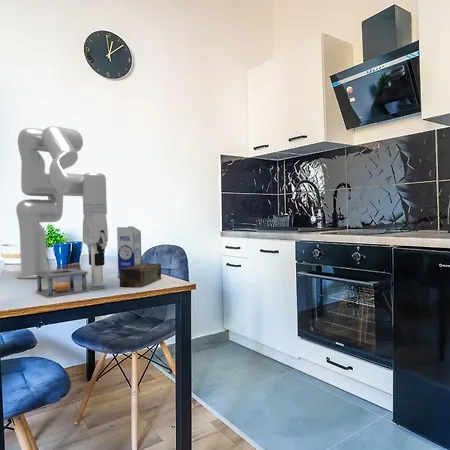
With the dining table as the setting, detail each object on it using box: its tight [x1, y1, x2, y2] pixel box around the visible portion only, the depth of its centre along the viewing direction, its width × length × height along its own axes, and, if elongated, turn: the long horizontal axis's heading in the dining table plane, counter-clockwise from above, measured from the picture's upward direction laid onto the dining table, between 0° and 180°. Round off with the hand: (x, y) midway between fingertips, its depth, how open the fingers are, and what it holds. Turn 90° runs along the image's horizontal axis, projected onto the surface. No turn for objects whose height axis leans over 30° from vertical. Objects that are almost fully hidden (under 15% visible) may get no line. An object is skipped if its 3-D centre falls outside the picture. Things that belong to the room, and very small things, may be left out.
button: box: [53, 281, 70, 292], centre depth 122 cm, size 4×4×2 cm
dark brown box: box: [119, 261, 162, 288], centre depth 137 cm, size 8×19×7 cm, turn 167°
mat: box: [89, 285, 106, 291], centre depth 127 cm, size 5×5×1 cm
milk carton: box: [116, 225, 143, 279], centre depth 150 cm, size 7×7×20 cm
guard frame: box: [35, 267, 89, 298], centre depth 122 cm, size 12×12×6 cm
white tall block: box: [90, 242, 104, 285], centre depth 127 cm, size 4×4×16 cm
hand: (96, 264), depth 127 cm, fingers closed on white tall block, 3 cm apart
